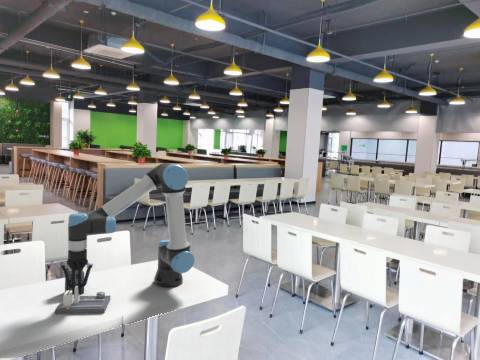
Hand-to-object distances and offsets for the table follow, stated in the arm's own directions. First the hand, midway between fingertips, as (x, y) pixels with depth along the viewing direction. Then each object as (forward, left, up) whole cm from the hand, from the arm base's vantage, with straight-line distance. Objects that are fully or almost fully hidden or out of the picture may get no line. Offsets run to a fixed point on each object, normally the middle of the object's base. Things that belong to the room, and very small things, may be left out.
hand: (77, 301), depth 164 cm
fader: (+3, 0, -1) cm, 4 cm away
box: (+6, -18, -4) cm, 19 cm away
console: (-3, -2, -3) cm, 5 cm away
